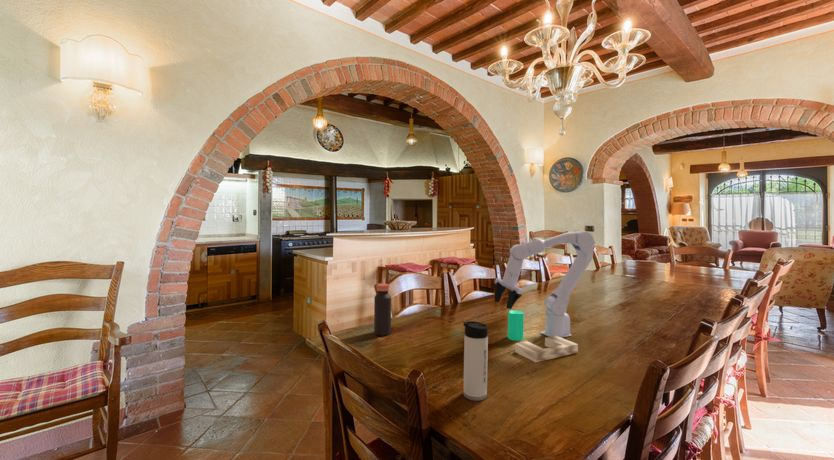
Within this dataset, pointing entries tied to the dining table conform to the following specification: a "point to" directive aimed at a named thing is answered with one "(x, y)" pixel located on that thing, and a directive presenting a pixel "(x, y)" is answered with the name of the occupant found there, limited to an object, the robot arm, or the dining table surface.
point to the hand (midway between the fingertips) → (502, 304)
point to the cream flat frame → (546, 349)
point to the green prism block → (515, 325)
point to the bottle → (382, 311)
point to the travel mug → (475, 360)
